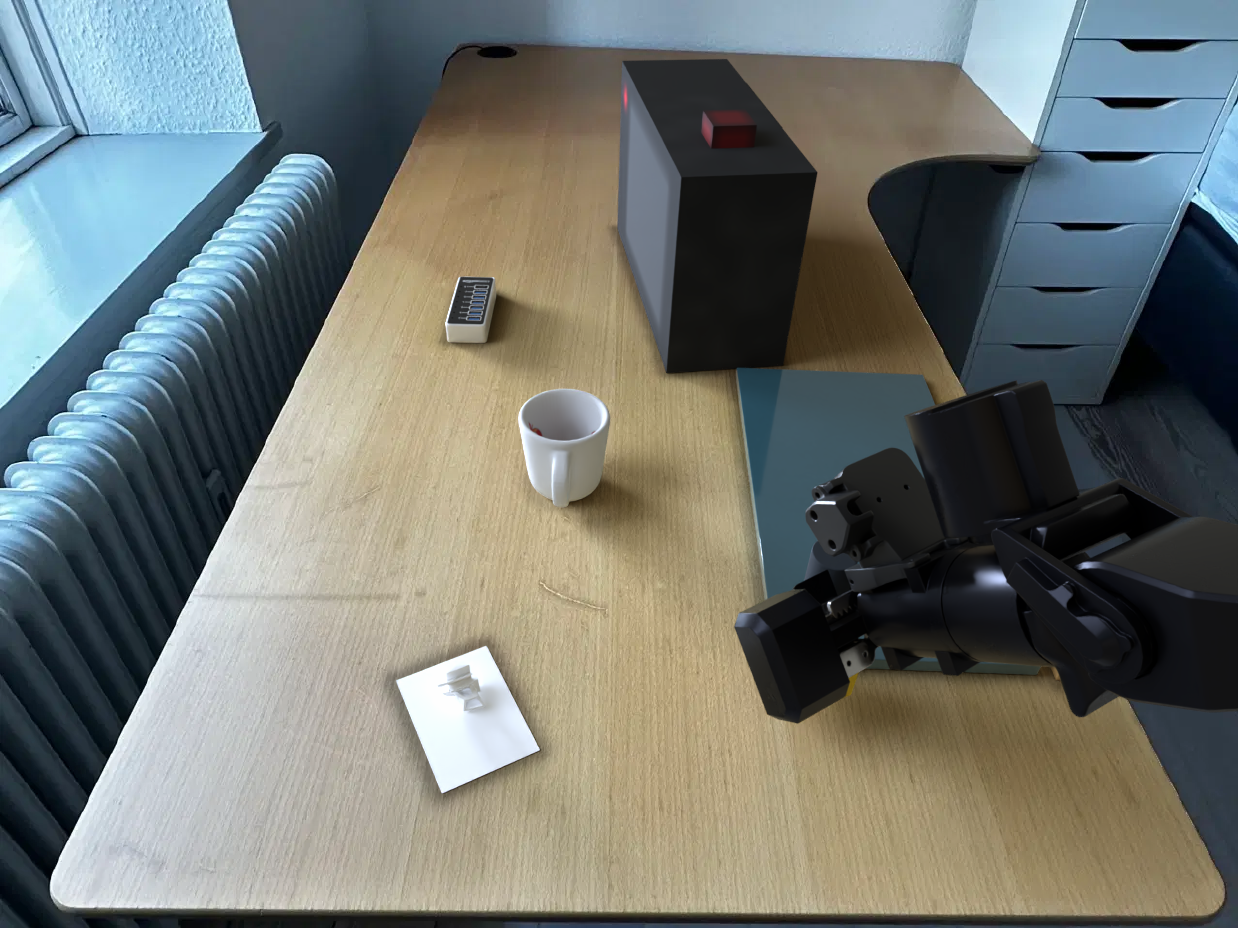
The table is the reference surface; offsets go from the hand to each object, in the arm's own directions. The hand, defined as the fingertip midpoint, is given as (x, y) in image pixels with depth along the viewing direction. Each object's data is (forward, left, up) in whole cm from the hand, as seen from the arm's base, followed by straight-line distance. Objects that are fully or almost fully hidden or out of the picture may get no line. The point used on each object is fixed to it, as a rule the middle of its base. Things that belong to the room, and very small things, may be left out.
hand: (804, 603), depth 58 cm
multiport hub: (+59, -8, -11) cm, 60 cm away
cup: (+27, 0, -11) cm, 29 cm away
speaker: (+48, -35, -11) cm, 61 cm away
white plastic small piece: (+12, +19, -11) cm, 25 cm away
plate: (+11, -21, -10) cm, 26 cm away
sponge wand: (-1, 0, -7) cm, 7 cm away
